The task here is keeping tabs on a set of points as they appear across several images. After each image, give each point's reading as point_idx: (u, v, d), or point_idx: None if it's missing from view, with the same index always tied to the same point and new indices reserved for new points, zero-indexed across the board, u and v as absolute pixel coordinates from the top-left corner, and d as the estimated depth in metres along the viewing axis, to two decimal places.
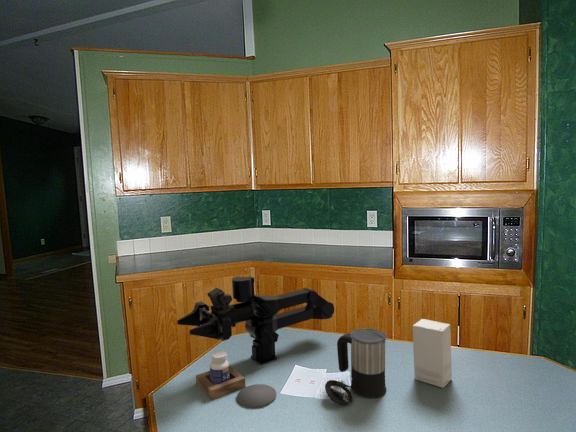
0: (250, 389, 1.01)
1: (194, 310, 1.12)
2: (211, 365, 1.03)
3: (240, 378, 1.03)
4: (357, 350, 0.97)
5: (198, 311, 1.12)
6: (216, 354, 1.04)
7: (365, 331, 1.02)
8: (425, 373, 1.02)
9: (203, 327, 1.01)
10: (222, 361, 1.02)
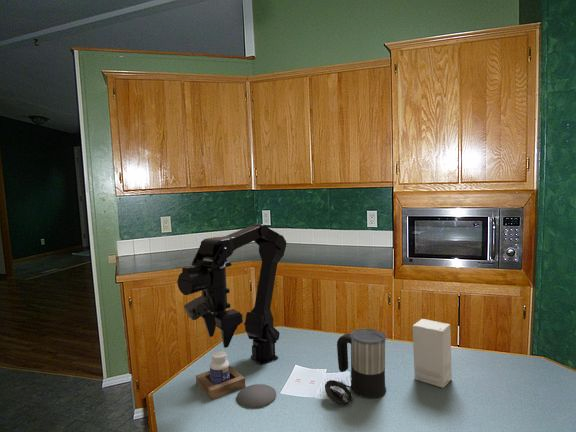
0: (250, 389, 1.01)
1: (202, 317, 1.07)
2: (211, 365, 1.03)
3: (240, 378, 1.03)
4: (357, 350, 0.97)
5: (204, 314, 1.06)
6: (216, 354, 1.04)
7: (365, 331, 1.02)
8: (425, 373, 1.02)
9: (224, 336, 0.98)
10: (222, 361, 1.02)
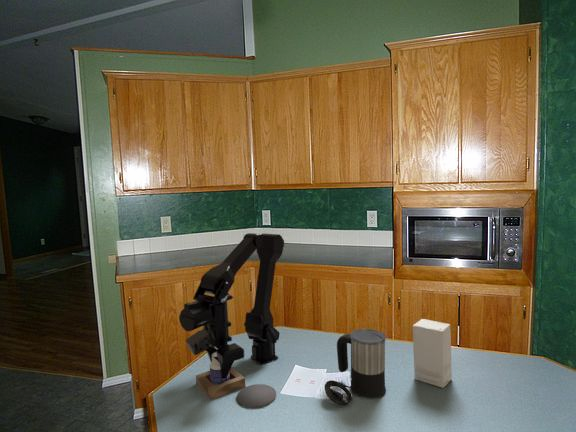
0: (250, 389, 1.01)
1: None
2: (211, 365, 1.03)
3: (240, 378, 1.03)
4: (357, 351, 0.97)
5: (208, 348, 1.06)
6: (216, 354, 1.04)
7: (365, 331, 1.02)
8: (425, 373, 1.02)
9: (223, 368, 1.00)
10: None
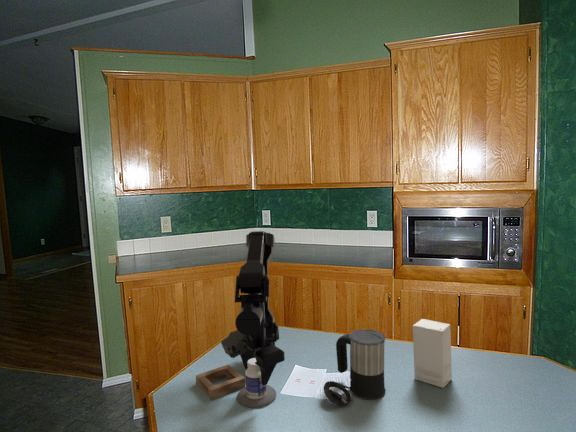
0: None
1: None
2: (247, 373, 0.97)
3: (240, 378, 1.03)
4: (356, 351, 0.96)
5: None
6: (252, 361, 0.98)
7: (364, 332, 1.02)
8: (425, 373, 1.02)
9: (264, 374, 0.93)
10: (259, 368, 0.96)
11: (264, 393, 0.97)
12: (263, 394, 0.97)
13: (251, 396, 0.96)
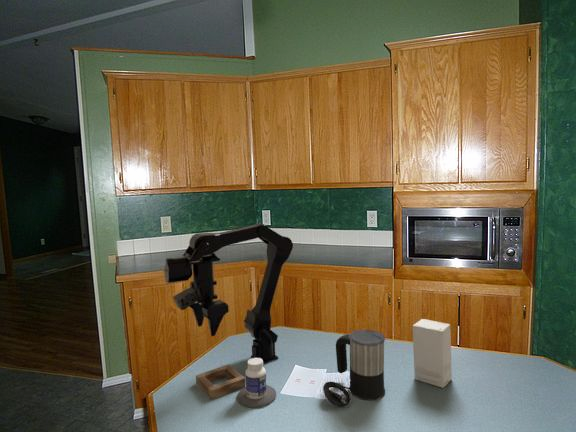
0: None
1: None
2: (247, 372, 0.97)
3: (240, 378, 1.03)
4: (356, 352, 0.96)
5: (193, 305, 1.13)
6: (252, 361, 0.98)
7: (364, 332, 1.01)
8: (425, 373, 1.02)
9: (211, 325, 1.05)
10: (259, 368, 0.96)
11: (264, 393, 0.97)
12: (263, 394, 0.97)
13: (251, 396, 0.96)
